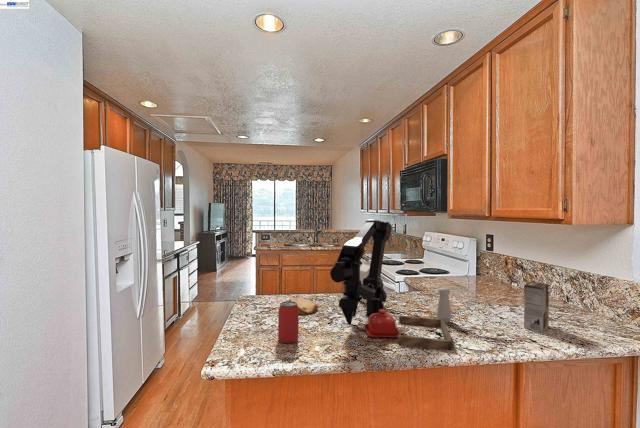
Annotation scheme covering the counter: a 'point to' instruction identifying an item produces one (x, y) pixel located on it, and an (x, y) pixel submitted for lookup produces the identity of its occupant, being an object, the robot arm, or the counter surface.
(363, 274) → the milk carton
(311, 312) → the slice of bread
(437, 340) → the walnut bay
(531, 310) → the coffee box
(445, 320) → the salt shaker
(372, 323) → the butter dish
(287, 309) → the beer can
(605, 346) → the counter surface
